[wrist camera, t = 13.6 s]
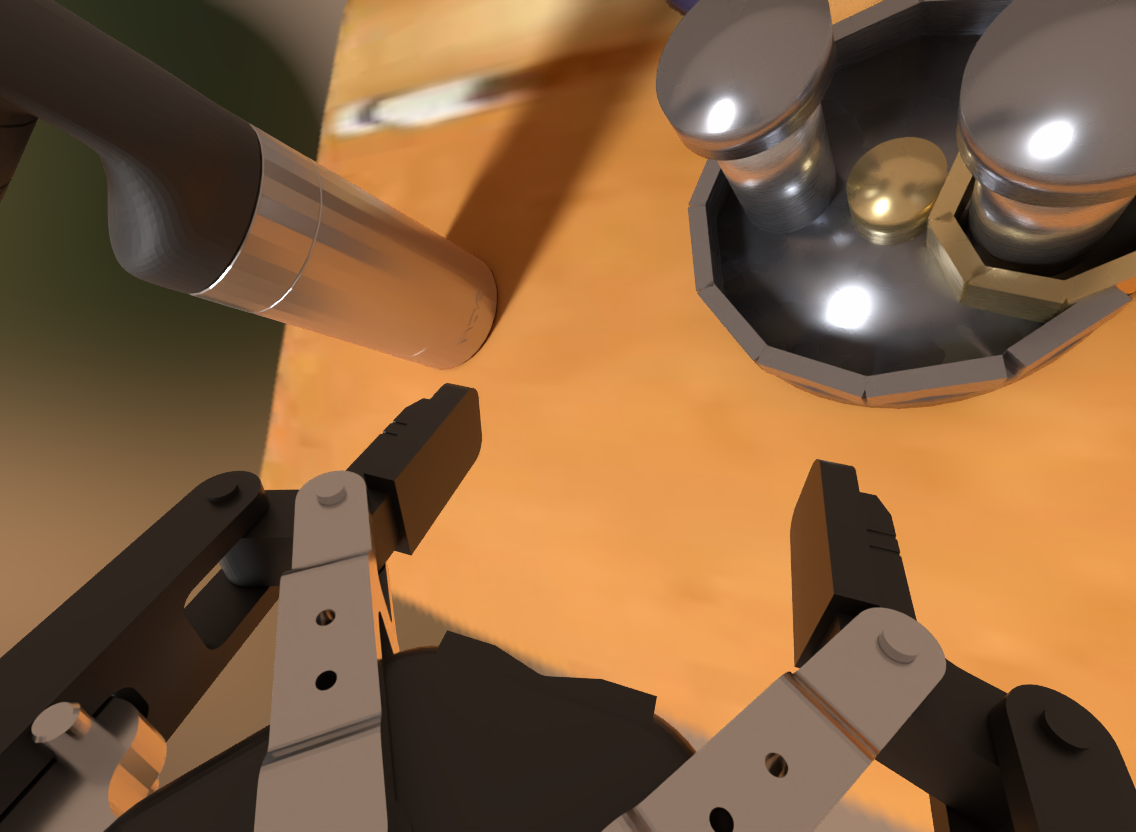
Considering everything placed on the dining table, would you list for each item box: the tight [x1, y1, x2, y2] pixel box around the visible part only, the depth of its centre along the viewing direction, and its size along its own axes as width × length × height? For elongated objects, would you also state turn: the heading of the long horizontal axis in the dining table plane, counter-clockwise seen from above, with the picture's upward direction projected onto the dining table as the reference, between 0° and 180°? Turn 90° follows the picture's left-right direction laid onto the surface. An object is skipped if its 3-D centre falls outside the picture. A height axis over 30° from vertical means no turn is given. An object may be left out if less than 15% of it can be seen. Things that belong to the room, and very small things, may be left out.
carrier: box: [656, 0, 1136, 409], centre depth 21 cm, size 18×18×12 cm
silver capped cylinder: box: [956, 0, 1136, 278], centre depth 18 cm, size 6×6×10 cm
